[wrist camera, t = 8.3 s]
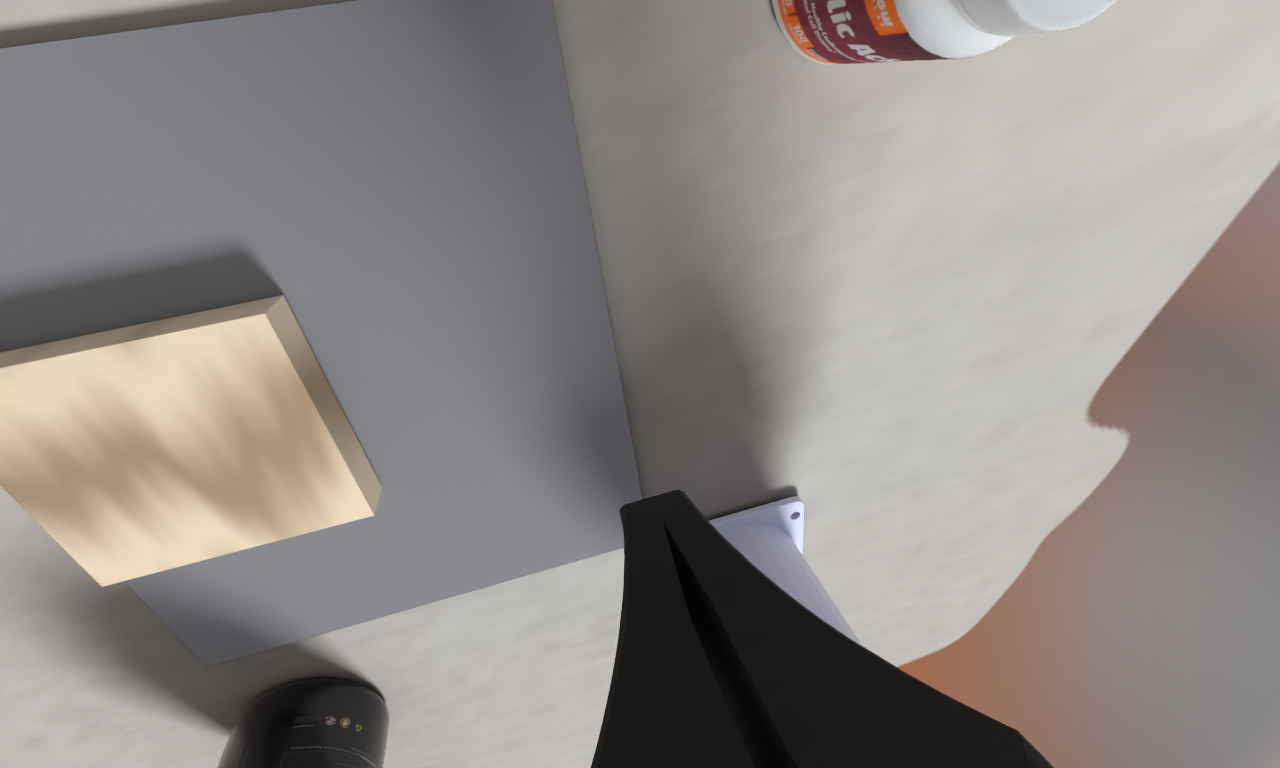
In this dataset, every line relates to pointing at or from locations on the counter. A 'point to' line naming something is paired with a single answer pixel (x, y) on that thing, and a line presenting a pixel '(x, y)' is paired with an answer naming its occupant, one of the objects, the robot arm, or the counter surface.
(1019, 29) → the pill bottle
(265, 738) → the supplement bottle
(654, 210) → the counter surface
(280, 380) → the tile
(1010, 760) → the robot arm
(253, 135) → the mat
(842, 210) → the counter surface
